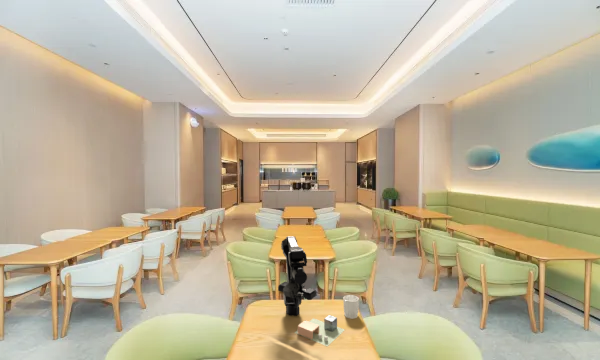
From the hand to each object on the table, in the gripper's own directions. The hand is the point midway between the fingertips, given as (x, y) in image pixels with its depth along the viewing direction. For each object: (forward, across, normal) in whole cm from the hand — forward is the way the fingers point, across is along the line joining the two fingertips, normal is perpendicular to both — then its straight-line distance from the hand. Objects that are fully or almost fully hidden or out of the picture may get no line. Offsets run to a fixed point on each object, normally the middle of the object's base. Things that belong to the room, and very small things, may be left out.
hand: (297, 307), depth 141 cm
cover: (+9, +7, -1) cm, 12 cm away
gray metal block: (+10, +14, +8) cm, 19 cm away
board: (+11, +10, +4) cm, 15 cm away
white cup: (+11, +16, +25) cm, 32 cm away
